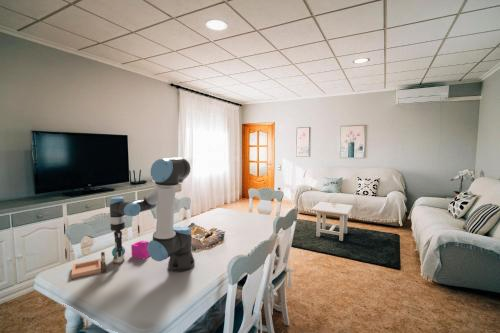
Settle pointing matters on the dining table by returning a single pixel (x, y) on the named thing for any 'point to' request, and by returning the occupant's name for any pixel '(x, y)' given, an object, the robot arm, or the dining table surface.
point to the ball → (116, 252)
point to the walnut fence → (103, 262)
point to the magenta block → (140, 249)
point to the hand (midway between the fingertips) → (118, 257)
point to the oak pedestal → (116, 260)
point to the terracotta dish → (86, 268)
